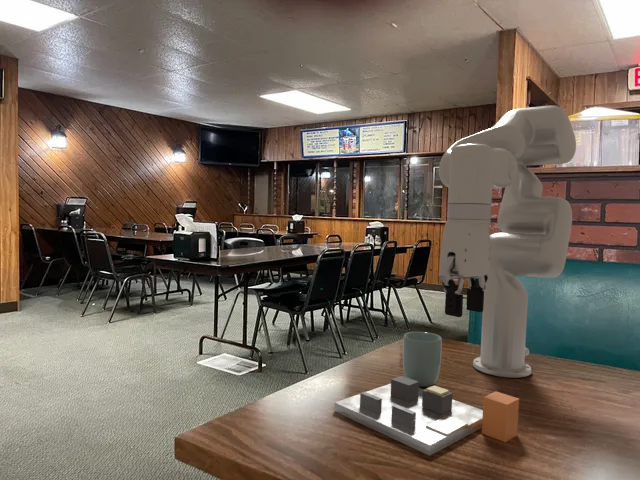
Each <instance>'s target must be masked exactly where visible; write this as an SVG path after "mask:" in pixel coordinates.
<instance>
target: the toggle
mask: <svg viewBox="0 0 640 480" xmlns="http://www.w3.org/2000/svg"><path fill="white" fill-rule="evenodd" d="M390 379H391V380H390V384H391V395H392V396H394V397H397V398H399V399H402V400H405V401H407V402H409V401H411V400H414V399H417V398H418V391H419V388H420V386H419V382H418V381H415V380H412V379H409V378H406V377H405V376H403V375H400V376H397V377H394V378H390Z"/></svg>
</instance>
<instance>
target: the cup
mask: <svg viewBox="0 0 640 480" xmlns="http://www.w3.org/2000/svg"><path fill="white" fill-rule="evenodd" d="M442 343H443V341H442V336H440V335H438V334H436V333H432V332H426V331H425V332H424V331H410V332H409V331H408V332H406V333H404V335H403V342H402V367H403V368H402V369H403V375H404V377H406V378H409V379H412V380H415V381H418V382H419V388H421V387H422V388H423V387H424V388H425V387H426V388H429V387H431V386H434V384H435V383H436V382H437V381H438V379H439V376H440V370H441V363H442V362H441V361H442V346H443V345H442Z"/></svg>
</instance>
